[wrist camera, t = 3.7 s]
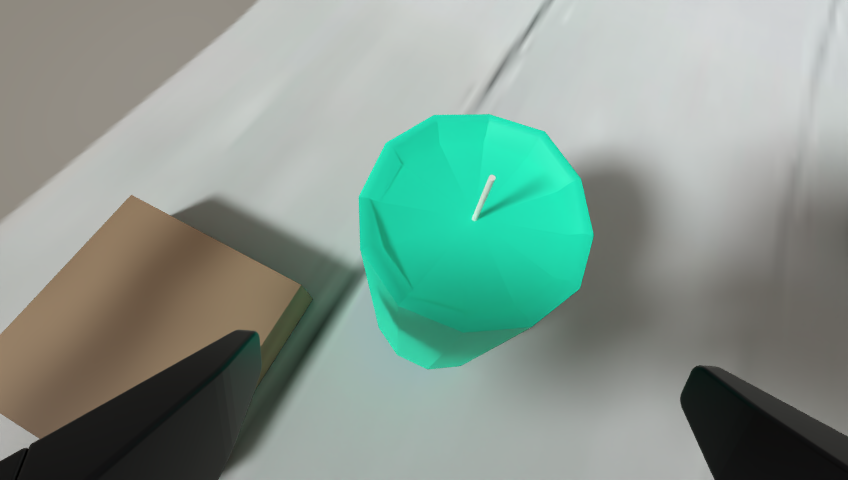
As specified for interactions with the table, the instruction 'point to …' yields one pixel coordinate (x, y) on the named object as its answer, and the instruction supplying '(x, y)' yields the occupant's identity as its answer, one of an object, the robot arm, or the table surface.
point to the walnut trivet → (135, 316)
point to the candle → (470, 236)
